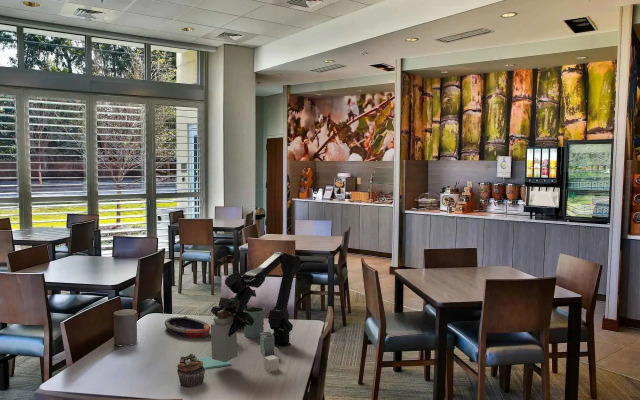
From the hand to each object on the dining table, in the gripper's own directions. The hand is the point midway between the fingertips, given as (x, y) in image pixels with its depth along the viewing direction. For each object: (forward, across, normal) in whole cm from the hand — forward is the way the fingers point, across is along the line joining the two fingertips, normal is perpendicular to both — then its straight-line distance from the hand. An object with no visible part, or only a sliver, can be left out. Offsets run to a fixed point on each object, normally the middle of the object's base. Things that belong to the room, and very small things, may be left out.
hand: (221, 335), depth 195 cm
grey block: (+2, +15, +17) cm, 23 cm away
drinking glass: (-17, -18, +36) cm, 44 cm away
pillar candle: (+11, -57, +7) cm, 59 cm away
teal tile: (+7, -8, +12) cm, 16 cm away
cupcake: (+20, +1, -2) cm, 20 cm away
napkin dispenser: (-6, +3, +25) cm, 26 cm away
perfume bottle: (+6, 0, +8) cm, 9 cm away
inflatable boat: (-6, -46, +26) cm, 53 cm away
